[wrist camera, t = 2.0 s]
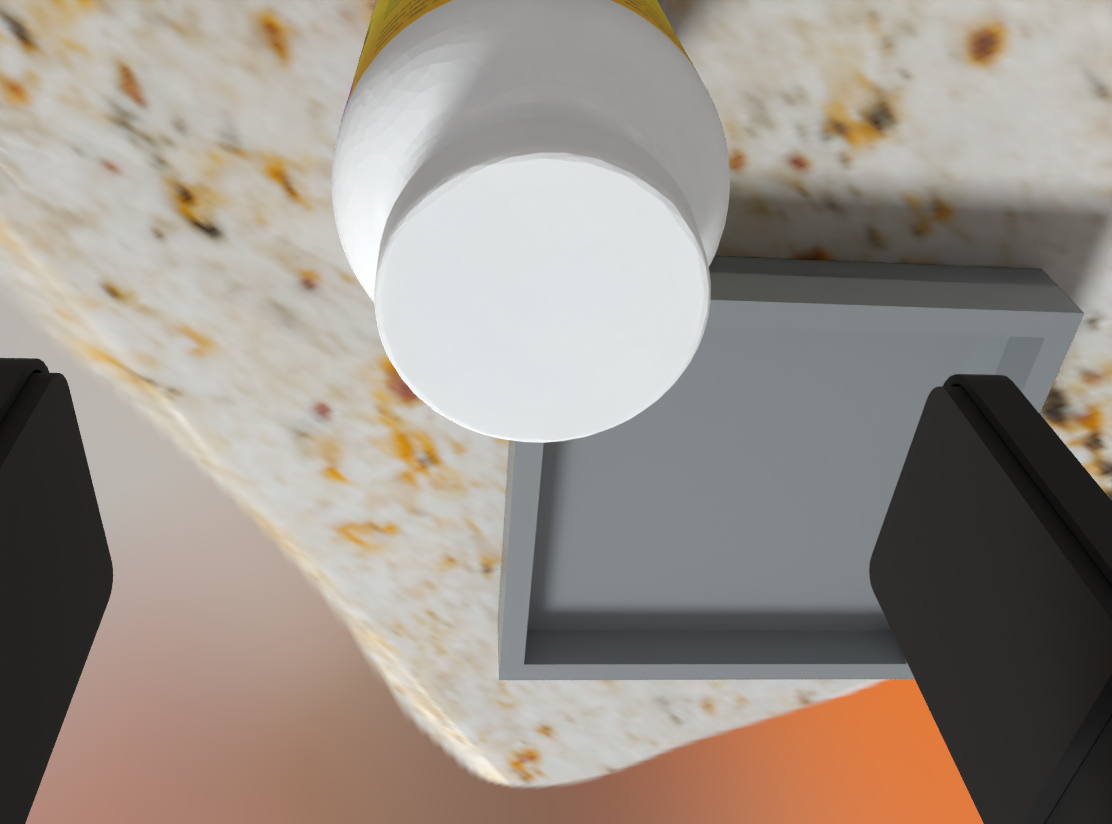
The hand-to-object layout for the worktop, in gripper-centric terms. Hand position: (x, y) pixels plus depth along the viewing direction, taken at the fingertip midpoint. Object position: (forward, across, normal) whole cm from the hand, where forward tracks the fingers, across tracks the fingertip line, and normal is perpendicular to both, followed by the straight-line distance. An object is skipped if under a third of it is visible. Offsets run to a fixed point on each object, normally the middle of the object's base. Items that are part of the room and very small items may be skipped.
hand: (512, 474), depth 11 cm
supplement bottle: (+16, -1, 0) cm, 16 cm away
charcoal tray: (+16, -9, +13) cm, 22 cm away
